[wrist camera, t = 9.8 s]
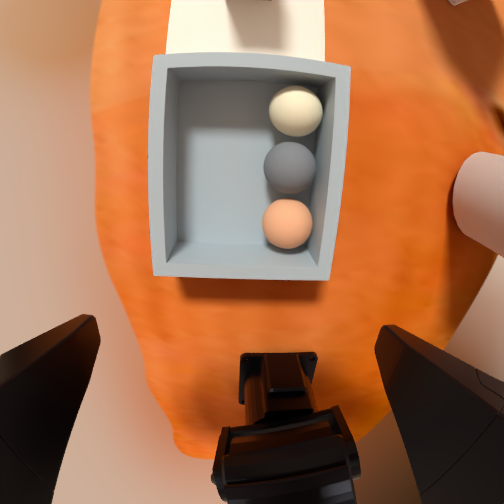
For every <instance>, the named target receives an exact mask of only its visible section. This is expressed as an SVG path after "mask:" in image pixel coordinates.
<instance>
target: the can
mask: <svg viewBox="0 0 504 504" xmlns="http://www.w3.org/2000/svg"><path fill="white" fill-rule="evenodd" d="M453 210H454V217H455V219H456V222H457V225H458V227H459V228H460V230H461V231H462V232H463V234H465V235H466V236H468V237H470V238H472V239H473V240H475V241H477V242H479V243H480V244H482V245H484V246H485V247H487V248H489V249H490V250H492V251H494V252H495V253H497V254H499V255H500V256H502V257H503V258H504V156H502V155H497V154H492V153H487V152H477V153H474V154H472V155H471V156H470V157H469V158H468V159H466V160H465V161H464V163H463V165H462V167H461V168H460V170H459V172H458V175H457V177H456V181H455V184H454V190H453Z"/></svg>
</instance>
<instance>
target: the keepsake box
mask: <svg viewBox="0 0 504 504" xmlns="http://www.w3.org/2000/svg"><path fill="white" fill-rule="evenodd" d="M350 73H351V67H350V66H345V65H340V64H335V63H330V62H324V61H318V60H312V59H305V58H298V57H290V56H281V55H270V54H257V53H237V52H195V53H175V54H162V55H153V65H152V77H151V90H150V106H149V130H148V196H149V221H150V238H151V252H152V264H153V275H154V276H173V277H198V278H227V279H266V280H329V277H330V272H331V266H332V260H333V254H334V247H335V241H336V234H337V227H338V220H339V212H340V205H341V196H342V188H343V179H344V169H345V159H346V147H347V135H348V120H349V102H350ZM288 86H301V87H305V88H307V89H309V90H311V91H312V92H313V93H314V94H315V95H316V96H317V97H318V99H319V100H320V102H321V105H322V110H323V115H322V119H321V122H320V124H319V126H318V127H317V128H316V129H315V130H314V131H313V132H311V133H310V134H308V135H305V136H301V137H293V136H289V135H286V134H283V133H282V132H280V131H279V130H278V129H277V128H276V127H275V126H274V125H273V123H272V121H271V119H270V116H269V105H270V102H271V99H272V98H273V96H274V95H275V94H276V93H277V92H278V91H279V90H281V89H283V88H285V87H288ZM283 142H296V143H299V144H302V145H303V146H305V147H306V148H307V149H309V151H310V152H311V153H312V154H313V156H314V158H315V162H316V175H315V178H314V180H313V182H312V183H311V184H310V186H309V187H307V188H306V189H305V190H303V191H301V192H299V193H294V194H287V193H282V192H280V191H278V190H276V189H274V188H273V187H272V186H271V185H270V184H269V183H268V181H267V180H266V177H265V175H264V170H263V165H264V160H265V157H266V155H267V153H268V152H269V151H270V150H271V149H272V148H273V147H274V146H276V145H277V144H280V143H283ZM282 198H292V199H296V200H298V201H300V202H302V203H303V204H304V205H305V206H306V207H307V208H308V210H309V211H310V213H311V216H312V220H313V227H312V231H311V234H310V236H309V238H308V239H307V240H306V241H305V242H304V243H303V244H302V245H300V246H298V247H296V248H291V249H284V248H280V247H277V246H275V245H273V244H272V243H271V242H270V241H269V240H268V239H267V238H266V236H265V234H264V232H263V228H262V218H263V215H264V212H265V211H266V209H267V208H268V206H269V205H270V204H272V203H273V202H274V201H276V200H279V199H282Z"/></svg>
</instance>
